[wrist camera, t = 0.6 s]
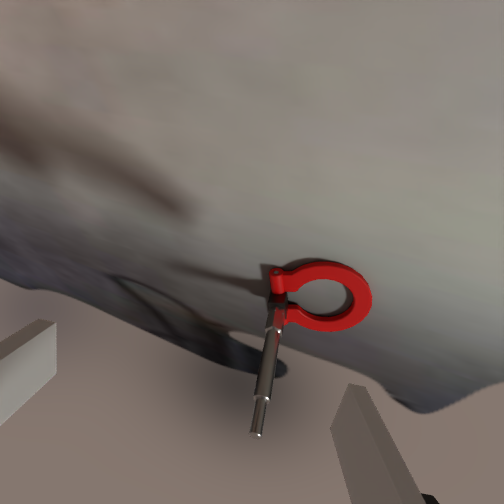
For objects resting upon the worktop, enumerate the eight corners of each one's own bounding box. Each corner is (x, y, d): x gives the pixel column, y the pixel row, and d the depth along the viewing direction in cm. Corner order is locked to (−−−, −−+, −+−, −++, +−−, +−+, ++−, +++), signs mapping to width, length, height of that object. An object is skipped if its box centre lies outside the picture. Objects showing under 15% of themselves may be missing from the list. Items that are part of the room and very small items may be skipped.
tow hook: (374, 257, 22) (268, 258, 25) (436, 428, 11) (228, 396, 13) (366, 325, 27) (277, 320, 29) (403, 495, 15) (252, 462, 18)
